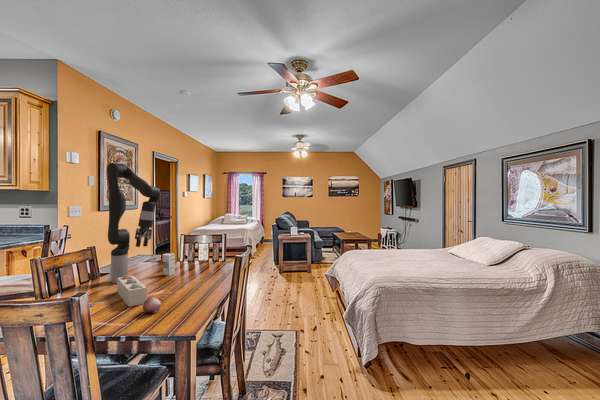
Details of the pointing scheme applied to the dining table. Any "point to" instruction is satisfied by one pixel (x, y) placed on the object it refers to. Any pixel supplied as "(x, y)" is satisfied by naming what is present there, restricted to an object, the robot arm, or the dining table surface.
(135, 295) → the block
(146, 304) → the onion
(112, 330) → the dining table surface
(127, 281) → the slate button
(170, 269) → the syrup box
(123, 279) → the terracotta button
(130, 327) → the dining table surface
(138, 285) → the sage button
